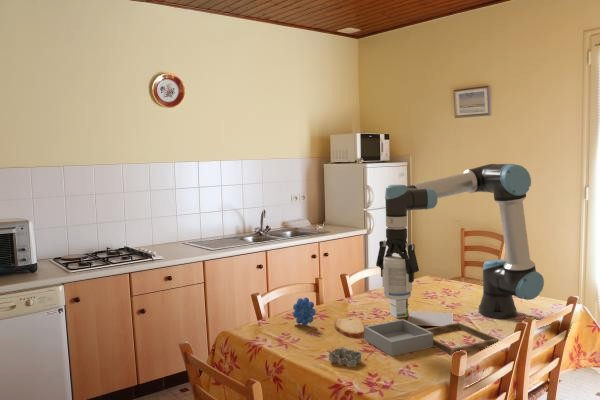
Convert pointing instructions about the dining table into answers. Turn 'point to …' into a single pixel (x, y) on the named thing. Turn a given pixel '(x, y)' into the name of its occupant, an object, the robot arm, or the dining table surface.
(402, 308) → the syrup box
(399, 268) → the supplement tub
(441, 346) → the rim
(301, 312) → the grapes
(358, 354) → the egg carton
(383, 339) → the grey bin
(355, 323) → the bread slice
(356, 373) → the dining table surface
